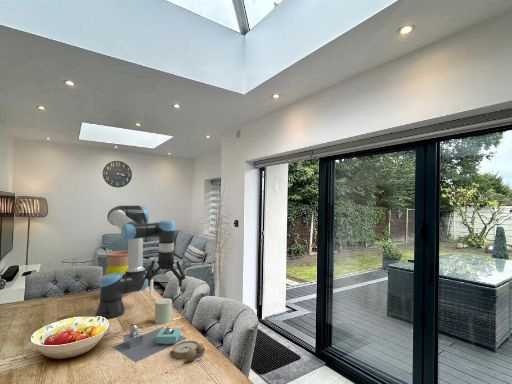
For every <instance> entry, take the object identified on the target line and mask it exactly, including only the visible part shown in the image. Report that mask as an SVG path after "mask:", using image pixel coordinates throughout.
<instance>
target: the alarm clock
mask: <svg viewBox="0 0 512 384" xmlns="http://www.w3.org/2000/svg"><path fill="white" fill-rule="evenodd" d="M205 352H206V348H205V345H204V344H203V343H201V342H198V341H196V340H186V341H185V340H183V341H180V342H178V343H176V344H174V345H173V346H172V350H171V351H170V353H172V356H173V357H174V358H175V359H178V360H186V361H187V362H189V363H191V362H193V361H195V360H196V359H197V358H200V357H202V356H203V355H205Z"/></svg>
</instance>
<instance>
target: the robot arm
mask: <svg viewBox="0 0 512 384" xmlns="http://www.w3.org/2000/svg"><path fill="white" fill-rule="evenodd" d="M106 218H107V221H108V222H109V224H110V225H112V226H116V227H117V228H118V229H120V233H121V234H120V235H121V237H122V239H123V240H127V241H128V242H127V243H128V247H127V250H128V269H127V270H126V271H125V274H122V273H121V272H117V273H111V274H107V275H105V274H104V275H105V276H104V275H103V276H102V277H101V279H100V285H99V288H100V289H99V303H98V306H97V310H96V311H95V317H96V316H102V317H105V318H107V319H106V320H110V319H115V318H118V317H121V316H123V315H124V314H125V313H126V312H125V310H126V309H125V305H124V302H123V297H122V294H126V293H131V294H132V293H136V292H137V293H139V292H141V291H144V290H146V289H147V287H149V294H152V293H153V292H154V276H155V275H157V273H158V272H159V271H160V270H162V271H164V270H167V271H168V270H170V272H172V274H173V275H174V276H175V277H176V279H177V281H176V282H177V283H176V295H179V293H180V291H181V288H182V286H183V280H185V279H186V277H187V276H186V274H185V272H184V270H183V268H182V265H181V260H179V259H178V260H175V256H174V255H175V252H174V251H175V233H176V222H175V221H174V220H169V219H168V220H166V219H165V220H161V221H159V222H157V221H156V222H151V223H149V220H150V214H149V210H148V208H147V207H146V206H145V205H117V206H115V207H112V208H111V209H109V211H108V213H107V216H106ZM150 238H158V255H157V257H158V258H157V260H156V259H152V260H151V263H150V264H151V265H150V266H149V268H148V270H147V271H146V268H145V267H144V263H143V262H144V239H150ZM155 265H158V267H157V268H156V269H155V270H154V271H153V269H154V267H155ZM174 265H175V266H176V267H175V266H174ZM176 268H177V269H176ZM152 271H153V273H152ZM178 271H179V272H178Z"/></svg>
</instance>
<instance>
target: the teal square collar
mask: <svg viewBox="0 0 512 384" xmlns="http://www.w3.org/2000/svg"><path fill="white" fill-rule="evenodd" d="M161 328H162V327H161ZM166 328H167V327H164V328H162V329H161V330H160V332H159V333H158V335H157V336H156V344H158V343H176V342H177V340H178V338H179V336H180V335H181V327H171V328H172V334H165V330H166ZM176 344H177V343H176Z"/></svg>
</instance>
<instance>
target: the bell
mask: <svg viewBox="0 0 512 384" xmlns="http://www.w3.org/2000/svg"><path fill="white" fill-rule="evenodd" d="M165 328H166V330H165V334H172V328H173V327H171V325H167V326H166V327H165ZM160 344H162V345H170V344H173V343H160Z"/></svg>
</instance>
